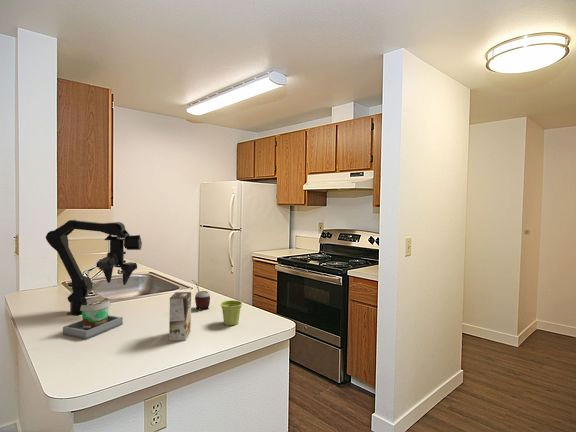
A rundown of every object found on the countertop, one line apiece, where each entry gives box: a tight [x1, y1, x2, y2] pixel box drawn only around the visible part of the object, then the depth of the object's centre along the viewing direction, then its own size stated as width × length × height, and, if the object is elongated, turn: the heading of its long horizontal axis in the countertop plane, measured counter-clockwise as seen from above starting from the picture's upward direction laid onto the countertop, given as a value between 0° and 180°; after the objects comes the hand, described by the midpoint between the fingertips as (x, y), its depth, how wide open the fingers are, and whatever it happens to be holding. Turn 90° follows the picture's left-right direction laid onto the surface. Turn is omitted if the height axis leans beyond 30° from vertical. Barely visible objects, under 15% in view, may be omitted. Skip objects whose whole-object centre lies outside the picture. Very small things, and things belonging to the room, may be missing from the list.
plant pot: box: [219, 300, 243, 326], centre depth 149 cm, size 9×9×9 cm
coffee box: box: [168, 291, 192, 342], centre depth 134 cm, size 9×6×16 cm
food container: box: [80, 297, 111, 330], centre depth 140 cm, size 12×6×10 cm, turn 162°
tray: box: [62, 314, 124, 341], centre depth 139 cm, size 12×17×3 cm
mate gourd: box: [191, 279, 211, 312], centre depth 167 cm, size 8×8×15 cm
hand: (116, 283), depth 160 cm, fingers open, 9 cm apart
